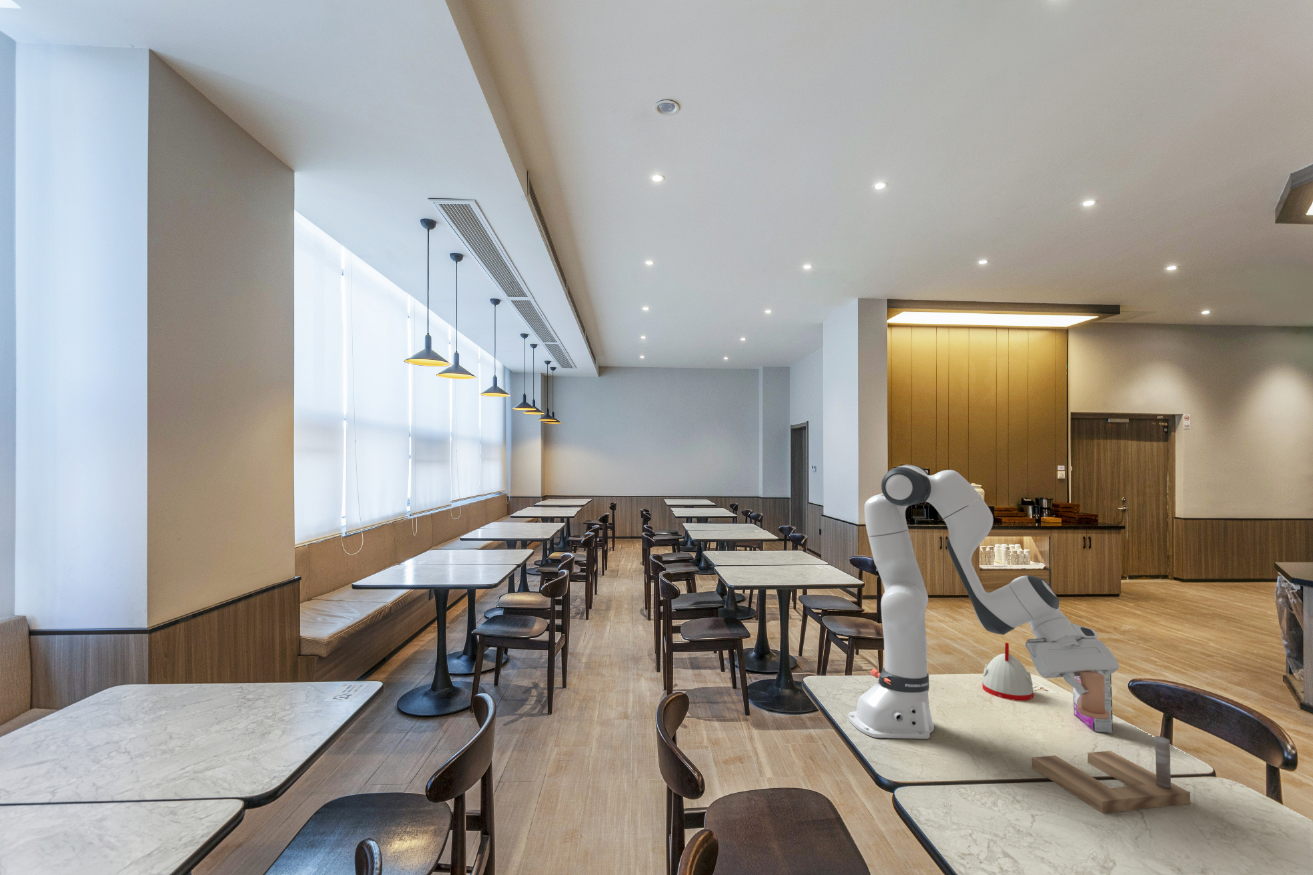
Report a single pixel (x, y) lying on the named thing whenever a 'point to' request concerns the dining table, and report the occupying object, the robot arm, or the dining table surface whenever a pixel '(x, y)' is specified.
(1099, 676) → the tan cylinder
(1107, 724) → the candy bar box
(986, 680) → the kitchen timer
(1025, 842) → the dining table surface
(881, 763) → the dining table surface
